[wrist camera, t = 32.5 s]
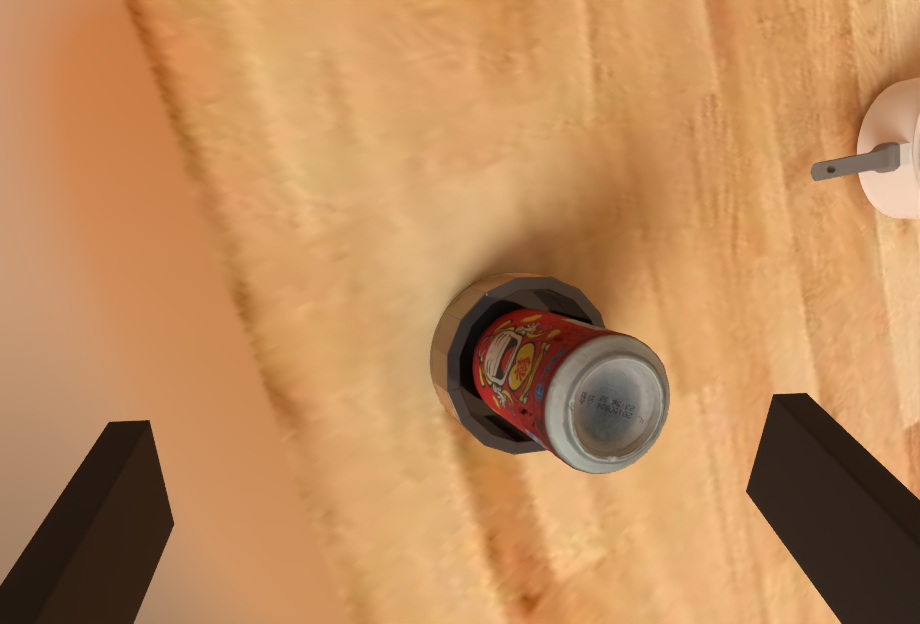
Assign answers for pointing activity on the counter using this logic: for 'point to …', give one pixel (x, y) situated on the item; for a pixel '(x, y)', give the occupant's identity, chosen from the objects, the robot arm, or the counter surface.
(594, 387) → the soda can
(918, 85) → the saucepan
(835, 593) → the robot arm
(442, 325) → the holder
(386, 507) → the counter surface
